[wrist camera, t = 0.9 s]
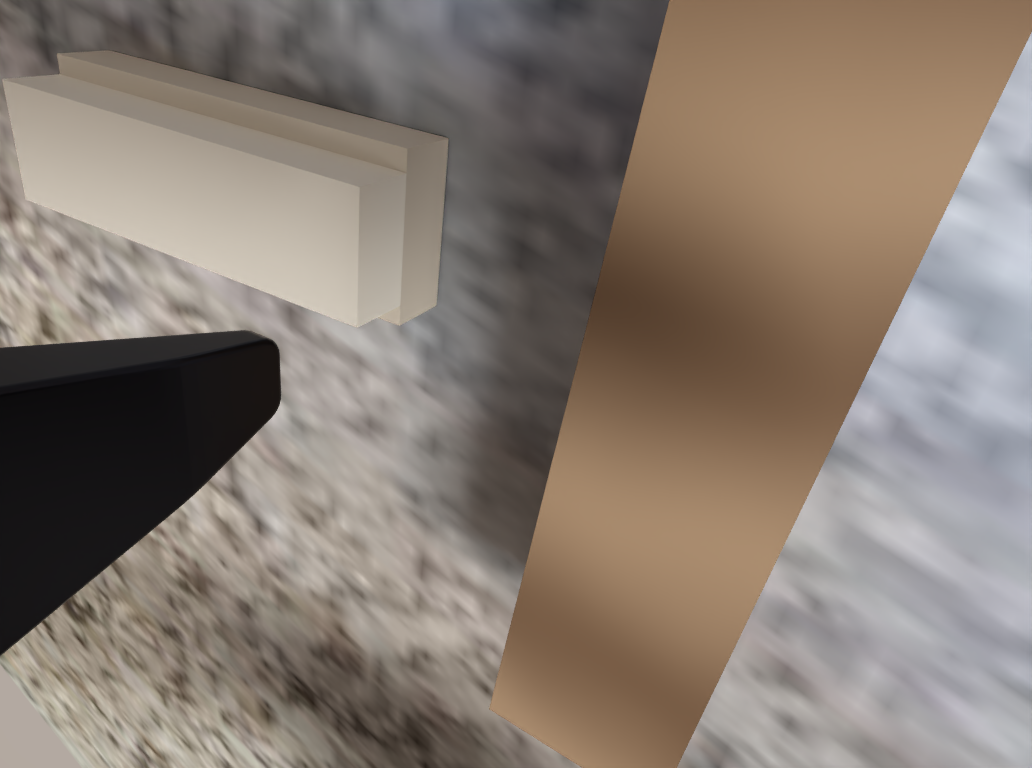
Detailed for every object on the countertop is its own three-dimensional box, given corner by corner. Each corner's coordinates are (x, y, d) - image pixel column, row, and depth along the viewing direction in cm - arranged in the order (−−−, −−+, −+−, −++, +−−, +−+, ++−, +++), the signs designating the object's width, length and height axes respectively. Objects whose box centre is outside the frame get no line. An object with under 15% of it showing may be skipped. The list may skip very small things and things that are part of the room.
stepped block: (436, 305, 19) (356, 348, 17) (127, 195, 23) (29, 217, 21) (448, 137, 17) (359, 160, 15) (109, 50, 21) (-2, 57, 19)
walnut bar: (717, 666, 20) (654, 813, 16) (576, 589, 21) (489, 709, 17) (1245, -445, 9) (1391, -715, 6) (897, -456, 11) (842, -680, 7)
